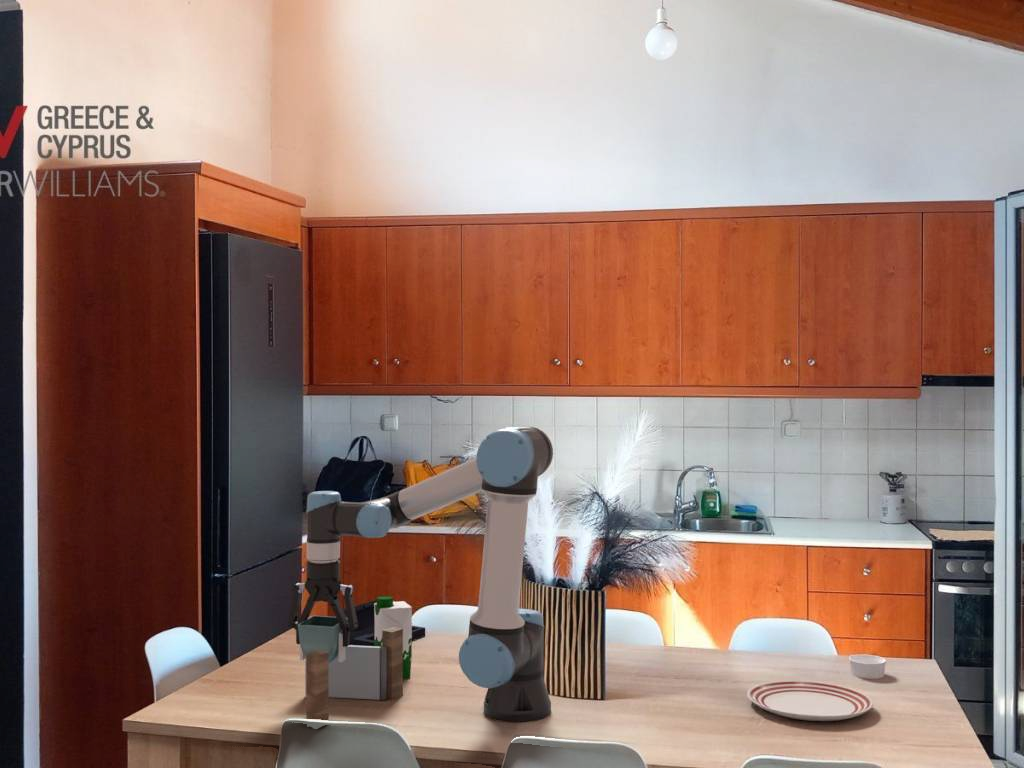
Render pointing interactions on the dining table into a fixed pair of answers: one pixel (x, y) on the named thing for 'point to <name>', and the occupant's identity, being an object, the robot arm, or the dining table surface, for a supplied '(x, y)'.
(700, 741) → the dining table surface
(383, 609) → the milk carton
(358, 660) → the door
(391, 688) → the door frame
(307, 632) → the flower pot
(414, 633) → the storage box
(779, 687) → the dinner plate
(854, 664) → the ramekin
